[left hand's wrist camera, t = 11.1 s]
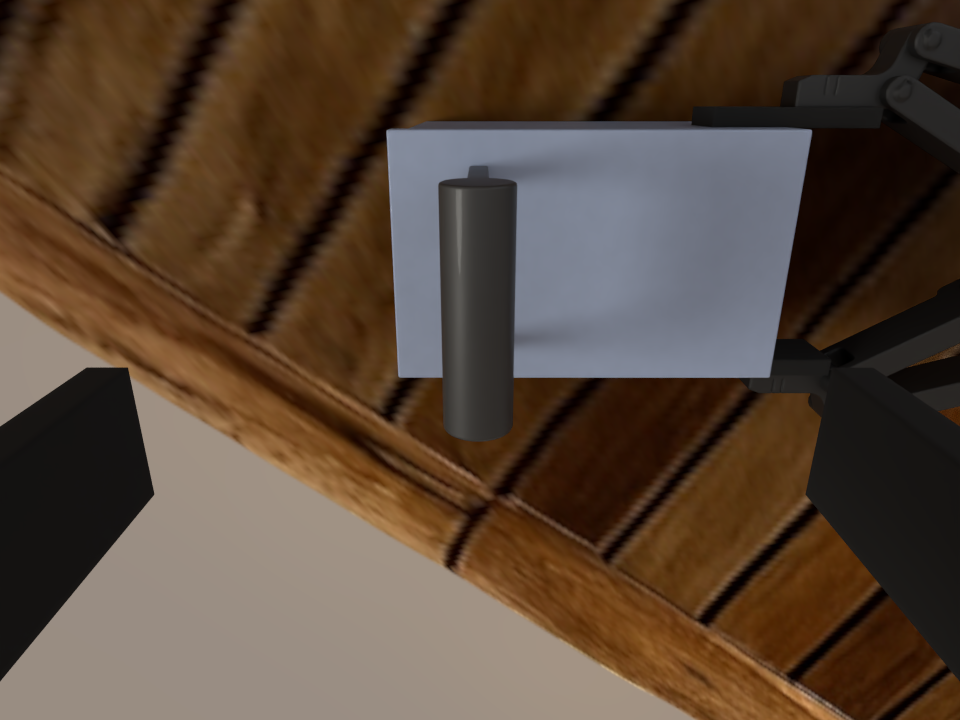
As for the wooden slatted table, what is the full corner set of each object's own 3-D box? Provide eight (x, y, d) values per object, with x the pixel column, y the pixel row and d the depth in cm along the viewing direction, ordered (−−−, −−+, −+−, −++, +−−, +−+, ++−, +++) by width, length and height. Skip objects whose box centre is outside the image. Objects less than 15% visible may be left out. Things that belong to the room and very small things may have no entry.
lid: (400, 370, 28) (369, 474, 20) (389, 128, 25) (346, 141, 17) (761, 370, 28) (870, 474, 20) (802, 128, 25) (952, 141, 17)
